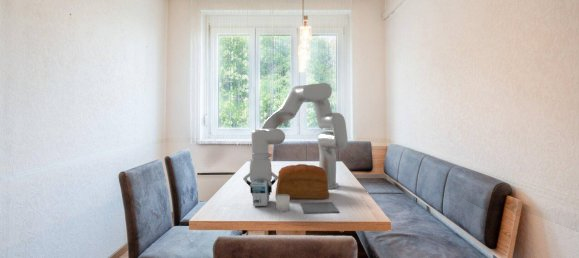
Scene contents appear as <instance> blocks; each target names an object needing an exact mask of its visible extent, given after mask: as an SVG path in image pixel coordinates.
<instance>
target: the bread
mask: <svg viewBox="0 0 579 258" xmlns="http://www.w3.org/2000/svg"><path fill="white" fill-rule="evenodd" d="M277 176H278V179H277V180H276V187H275V196H276V195H278V194H287V195H289V196H290V200H297V199H298V200H300V199H301V200H327V199H329V198H330V193H329V189H328V183H327V175H326V173H325V171H324V170H323V168H321V167H319V165H318V166H317V165H313V164H305V163H301V164H300V163H299V164H291V165H286V166H283V167H281V168H280V170H279V171H278V175H277Z"/></svg>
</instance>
